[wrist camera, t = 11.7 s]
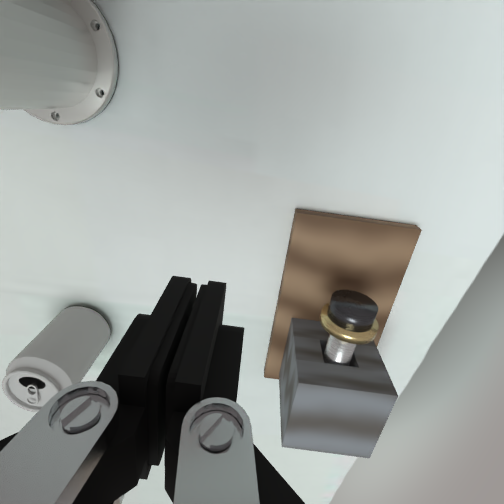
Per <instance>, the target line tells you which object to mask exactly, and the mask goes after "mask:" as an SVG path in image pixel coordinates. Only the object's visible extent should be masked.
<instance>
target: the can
mask: <svg viewBox="0 0 504 504" xmlns="http://www.w3.org/2000/svg"><path fill="white" fill-rule="evenodd" d="M109 339H110V329H109V325H108V324H107V322H106V321H105V319H104V318H103V317H102V316H101V315H100V314H99V313H98V312H96V311H94V310H92V309H89V308H85V307H81V306H72V307H69V308H65V309H64V310H63V311H62V312H60V313H59V314H58V315H57V316H56V317H55V318H54V319H53V320H52V321H51V322H50V323H49V324H48V325H47V326H46V327H45V328H44V329H43V330H42V331H41V332H40V333H39V334H38V335H37V336H36V337H35V338H34V339H33V340H32V341H31V342H30V343H29V344H28V345H27V346H26V347H25V348H24V349H23V350H22V351H21V352H20V353H19V354H18V355H17V356H16V357H15V358H14V359H13V360H12V361H11V362H10V363H9V365H8V367H7V369H6V376H5V377H4V379H3V381H2V389H3V391H4V393H5V395H6V396H7V398H8V399H9V400H10V401H11V402H13V403H14V404H15V405H17V406H18V407H21V408H23V409H25V410H28V411H32V412H38V411H39V410H40V409H41V408H42V407H43V406H44V405H45V404H46V403H47V402H48V400H50V399H51V398H52V397H53V396H54V395H55V394H57V393H58V392H59V391H61V390H63V389H65V388H66V387H68V386H70V385H73V384H76V383H79V382H81V380H82V379H83V378H84V376H85V375H86V373H87V372H88V370H89V369H90V367H91V366H92V364H93V363H94V361H95V360H96V358H97V357H98V355H99V354H100V352H101V351H102V349H103V348H104V346H105V345H106V343H107V342H108V340H109Z"/></svg>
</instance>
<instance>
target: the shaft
mask: <svg viewBox="0 0 504 504" xmlns="http://www.w3.org/2000/svg"><path fill="white" fill-rule="evenodd" d="M377 312H378V306H377V304H376V303H375V302H374V301H373V300H372V299H371V298H370V297H368V296H366V295H364V294H362V293H360V292H357V291H353V290H337V291H335V292H334V293H333V294H332V296H331V300H330V303H327V304H325V305H324V306H323V308H322V311H321V314H320V323H321V325H322V327H323V328H324V329H325V330H326V331H327V332H328V333H329V337H328V341H327V344H326V348H325V351H324V354H323V359H324V363H328V364H335V365H343V366H349V364H350V361H351V358H352V355H353V352H354V350H355V347H356V344H367V343H369V342H371V341H373V340H374V338H375V336H376V334H377V331H378V327H379V325H378V322H377V320H376V319H375V318H376V315H377Z"/></svg>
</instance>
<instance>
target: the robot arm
mask: <svg viewBox="0 0 504 504" xmlns="http://www.w3.org/2000/svg"><path fill="white" fill-rule="evenodd" d="M99 24H100V29H99V30H98V25H99ZM117 75H118V60H117V53H116V47H115V44H114V40H113V37H112V34H111V31H110V29H109V27H108V25H107V23H106V21H105V19H104V17H103V16H102V14H101V13H100V11H99V9H98V8H97V6H96V5H95V4H94V3H93V2H92V1H91V0H0V110H16V109H23V110H24V111H26V112H27V113H29V114H30V115H32V116H34V117H36V118H38V119H40V120H42V121H45V122H49V123H52V124H60V125H71V124H78V123H82V122H86V121H88V120H90V119H92V118H94V117H96V116H97V115H98V114H99V113H100V112H101V111H103V110H104V108H105V107H106V106H107V104H108V103H109V101H110V99H111V97H112V95H113V93H114V90H115V86H116V82H117ZM102 91H104V95H103V94H102ZM58 115H59V116H60V117H59V116H58ZM225 292H226V283H222V282H215V281H209V282H208V285H203V284H202V285H201V287H200V290H199V292H198V295H197V298H196V294H197V284H195V283H191V278H185V277H178V276H172V278H171V280H170V281H169V283H168V285H167V287H166V288H165V290H164V292H163V294H162V296H161V297H160V299H159V301H158V303H157V305H156V306H155V308H154V310H153V312H152V314H151V315H146V314H138V315H137V316H136V317H135V319H134V320H133V322H132V324H131V325H130V327H129V328H128V330H127V332H126V333H125V335H124V336H123V338H122V340H121V341H120V343H119V345H118V346H117V348H116V349H115V351H114V353H113V354H112V356H111V357H110V359H109V361H108V362H107V364H106V365H105V367H104V369H103V370H102V372H101V373H100V375H99V377H98V378H97V380H96V381H86V382H79V383H76V384H73V385H70V386H68V387H66V388H65V389H63V390H61V391H59V392H58V393H57V394H55V395H54V396H53V397H52V398H51V399H50V400H48V402H47V403H46V404H45V405H44V406H43V407H42V408H41V409H40V410H39V411H38V412H37V413H36V414H35V415H34V416H33V418H32V419H31V420H30V421H29V422H28V423H27V424H26V425H25V426H24V427H23V428H22V429H21V430H20V431H19V432H18V433H15V434H13V435H11V436H9V437H7V438H5V439H3V440H1V441H0V504H121V503H122V500H123V498H124V494H125V493H127V492H128V491H129V490H131V489H132V488H134V487H135V486H137V484H138V481H139V479H147V478H148V475H149V472H150V469H151V466H152V465H156V466H158V465H159V464H160V461H161V458H162V455H163V451H164V448H165V490H166V492H167V494H168V495H169V497H170V499H171V501H172V502H173V504H305V503H304V502H303V501H302V500H301V498H300V497H299V496H298V495H297V494H296V493H295V491H294V490H293V489H292V488H291V487H290V486H289V484H288V483H287V482H286V481H285V480H284V479H283V477H282V476H281V475H280V474H279V473H278V472H277V471H276V469H275V468H274V467H273V466H272V465H271V464H270V462H269V461H268V460H267V459H266V458H265V457H264V455H263V454H262V453H261V452H260V451H259V450H258V448H257V447H256V446H255V445H254V444H253V437H252V427H251V423H250V419H249V416H248V415H247V413H246V412H245V410H244V409H243V408H242V407H241V406H240V405H238V404H237V403H236V399H237V390H238V381H239V372H240V363H241V354H242V344H243V335H244V328H243V327H235V326H228V325H222V320H223V311H224V302H225Z"/></svg>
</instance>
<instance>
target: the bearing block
mask: <svg viewBox="0 0 504 504" xmlns="http://www.w3.org/2000/svg"><path fill="white" fill-rule="evenodd" d="M420 233H421V229H420V228H419V227H417V226H416V225H410V224H403V223H396V222H389V221H381V220H374V219H367V218H360V217H352V216H345V215H338V214H331V213H324V212H316V211H309V210H302V209H295V214H294V220H293V225H292V230H291V235H290V240H289V245H288V250H287V255H286V261H285V266H284V271H283V276H282V281H281V286H280V291H279V296H278V302H277V307H276V312H275V317H274V322H273V327H272V332H271V338H270V343H269V348H268V353H267V358H266V363H265V368H264V377H265V378H273V379H279V387H280V413H281V440H282V447H287V448H295V449H302V450H310V451H318V452H325V453H333V454H341V455H349V456H356V457H364V458H370V456H371V454H372V451H373V449H374V447H375V445H376V443H377V441H378V438H379V436H380V434H381V432H382V430H383V428H384V426H385V423H386V421H387V419H388V417H389V414H390V413H391V410H392V408H393V406H394V404H395V402H396V400H397V397H398V395H397V392H396V390H395V388H394V386H393V383H392V381H391V379H390V376H389V374H388V372H387V370H386V367H385V365H384V363H383V361H382V358H381V356H380V354H379V352H378V349H377V345H378V342H379V340H380V337H381V334H382V332H383V329H384V327H385V324H386V321H387V319H388V316H389V314H390V311H391V308H392V306H393V303H394V301H395V298H396V295H397V293H398V290H399V287H400V285H401V282H402V280H403V277H404V274H405V272H406V269H407V267H408V264H409V261H410V259H411V256H412V254H413V251H414V248H415V246H416V243H417V241H418V238H419V235H420ZM337 290H353V291H357V292H360V293H362V294H364V295H366V296H368V297H370V298H371V299H372V300H373V301H374V302H375V303H376V304H377V306H378V312H377V315H376V318H375V319H376V320H377V322H378V325H379V327H378V331H377V334H376V336H375V338H374V340H373V341H371V342H369V343H367V344H356V347H355V350H354V352H353V355H352V358H351V361H350V364H349V366H343V365H335V364H328V363H324V359H323V354H324V351H325V348H326V344H327V341H328V337H329V333H328V332H327V331H326V330H325V329H324V328H323V327H322V325H321V323H320V314H321V311H322V308H323V306H324V305H325V304H327V303H330V300H331V296H332V294H333V293H334V292H335V291H337Z"/></svg>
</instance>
